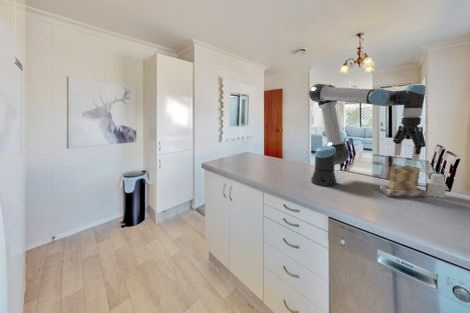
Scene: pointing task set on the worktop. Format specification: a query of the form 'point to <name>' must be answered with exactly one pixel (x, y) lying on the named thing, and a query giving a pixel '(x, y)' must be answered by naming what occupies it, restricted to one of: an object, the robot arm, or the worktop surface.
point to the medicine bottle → (436, 185)
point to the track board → (403, 193)
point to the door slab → (403, 178)
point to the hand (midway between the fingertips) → (405, 157)
